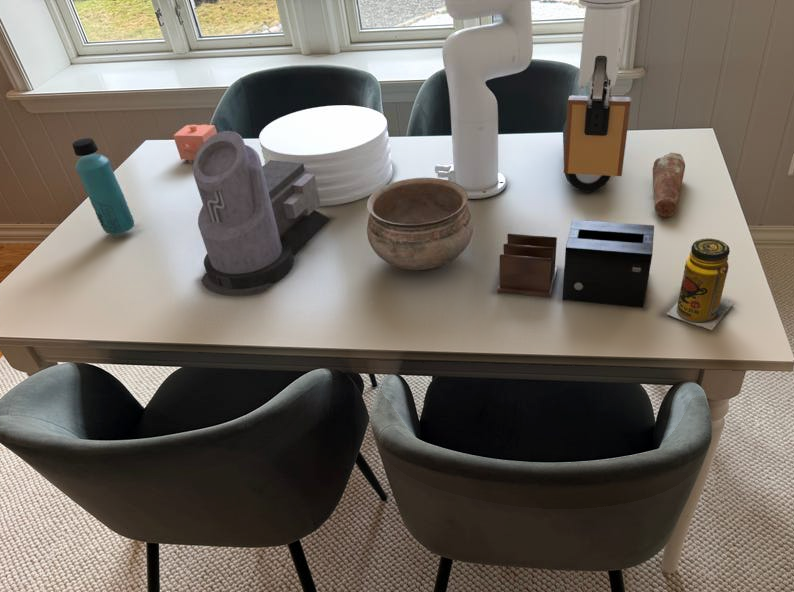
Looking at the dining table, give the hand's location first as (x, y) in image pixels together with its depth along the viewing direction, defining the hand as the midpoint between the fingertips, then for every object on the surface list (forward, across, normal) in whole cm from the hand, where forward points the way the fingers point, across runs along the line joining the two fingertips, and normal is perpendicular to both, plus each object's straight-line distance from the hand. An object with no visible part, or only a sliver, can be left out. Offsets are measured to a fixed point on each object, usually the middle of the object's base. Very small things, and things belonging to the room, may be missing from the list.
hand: (596, 130), depth 96 cm
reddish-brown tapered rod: (+27, -34, +14) cm, 45 cm away
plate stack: (+27, -34, -60) cm, 74 cm away
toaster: (+27, +1, +4) cm, 27 cm away
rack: (+27, +1, -9) cm, 28 cm away
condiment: (+27, +4, +19) cm, 33 cm away
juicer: (+27, -1, -60) cm, 66 cm away
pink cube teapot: (+27, -40, -98) cm, 109 cm away
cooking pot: (+27, -3, -29) cm, 40 cm away
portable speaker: (+27, -45, -4) cm, 53 cm away
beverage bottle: (+27, -3, -95) cm, 99 cm away
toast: (+6, 0, 0) cm, 6 cm away
